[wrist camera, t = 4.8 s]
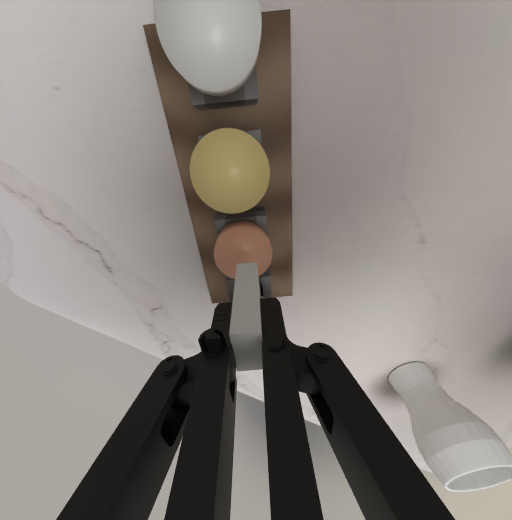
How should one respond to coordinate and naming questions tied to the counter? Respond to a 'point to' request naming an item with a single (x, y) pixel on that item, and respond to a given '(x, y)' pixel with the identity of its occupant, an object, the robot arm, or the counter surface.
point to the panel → (255, 124)
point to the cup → (450, 433)
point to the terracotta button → (242, 247)
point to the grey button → (210, 41)
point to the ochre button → (229, 170)
